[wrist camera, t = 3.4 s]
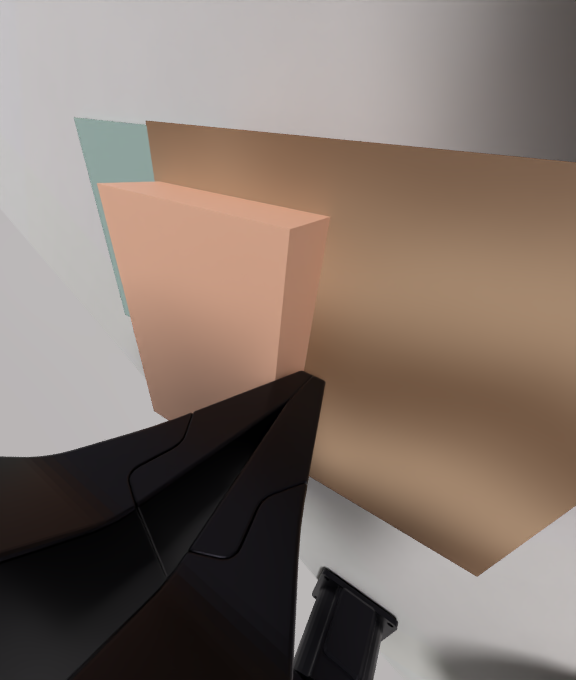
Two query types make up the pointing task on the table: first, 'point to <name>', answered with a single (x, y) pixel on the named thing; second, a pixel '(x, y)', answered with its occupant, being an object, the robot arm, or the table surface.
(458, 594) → the table surface
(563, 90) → the table surface
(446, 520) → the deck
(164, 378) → the peach upright slab
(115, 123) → the panel
